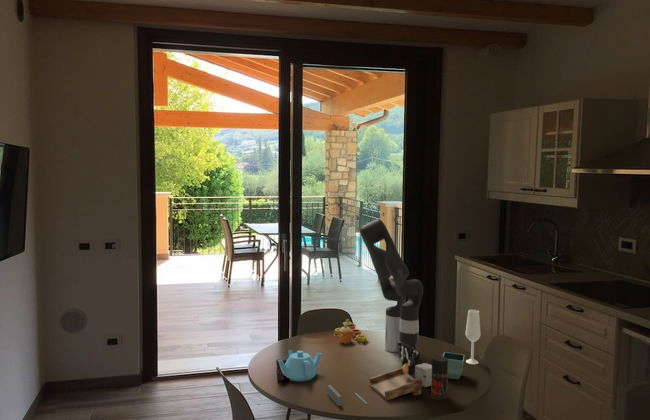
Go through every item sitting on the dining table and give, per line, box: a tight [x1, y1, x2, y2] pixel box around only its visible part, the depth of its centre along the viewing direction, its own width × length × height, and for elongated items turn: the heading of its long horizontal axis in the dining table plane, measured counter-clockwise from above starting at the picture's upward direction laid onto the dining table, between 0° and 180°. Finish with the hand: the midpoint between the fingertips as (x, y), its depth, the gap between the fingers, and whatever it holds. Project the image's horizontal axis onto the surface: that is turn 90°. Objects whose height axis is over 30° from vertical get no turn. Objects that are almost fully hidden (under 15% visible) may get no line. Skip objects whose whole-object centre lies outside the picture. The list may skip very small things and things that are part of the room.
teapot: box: [277, 349, 322, 382], centre depth 212 cm, size 15×15×11 cm
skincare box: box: [414, 362, 432, 388], centre depth 207 cm, size 6×6×7 cm
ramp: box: [368, 367, 423, 401], centre depth 200 cm, size 16×14×6 cm
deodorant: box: [430, 355, 448, 401], centre depth 194 cm, size 6×6×15 cm
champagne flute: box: [464, 309, 482, 365], centre depth 231 cm, size 7×7×24 cm
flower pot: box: [442, 351, 466, 380], centre depth 214 cm, size 9×9×9 cm
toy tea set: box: [333, 319, 369, 345], centre depth 266 cm, size 26×16×10 cm, turn 13°
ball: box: [401, 363, 409, 375], centre depth 201 cm, size 4×4×4 cm
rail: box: [326, 384, 343, 407], centre depth 190 cm, size 1×11×4 cm, turn 21°
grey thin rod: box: [353, 392, 369, 405], centre depth 194 cm, size 1×15×1 cm, turn 22°
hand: (407, 372), depth 201 cm, fingers closed on ball, 4 cm apart
